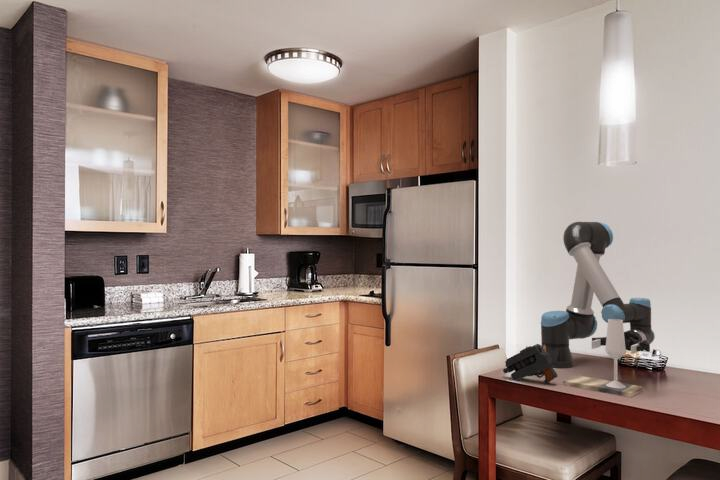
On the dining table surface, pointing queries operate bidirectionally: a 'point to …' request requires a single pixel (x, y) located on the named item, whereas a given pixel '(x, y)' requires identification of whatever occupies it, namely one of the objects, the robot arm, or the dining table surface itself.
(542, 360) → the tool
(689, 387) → the dining table surface
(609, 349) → the champagne flute
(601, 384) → the subfloor board
